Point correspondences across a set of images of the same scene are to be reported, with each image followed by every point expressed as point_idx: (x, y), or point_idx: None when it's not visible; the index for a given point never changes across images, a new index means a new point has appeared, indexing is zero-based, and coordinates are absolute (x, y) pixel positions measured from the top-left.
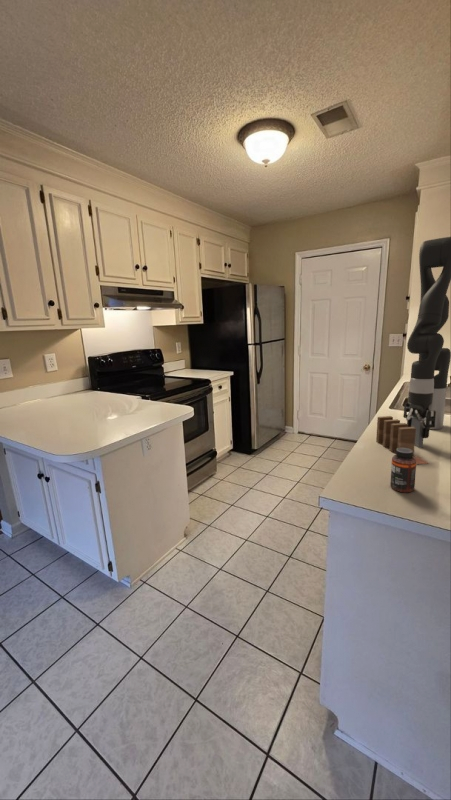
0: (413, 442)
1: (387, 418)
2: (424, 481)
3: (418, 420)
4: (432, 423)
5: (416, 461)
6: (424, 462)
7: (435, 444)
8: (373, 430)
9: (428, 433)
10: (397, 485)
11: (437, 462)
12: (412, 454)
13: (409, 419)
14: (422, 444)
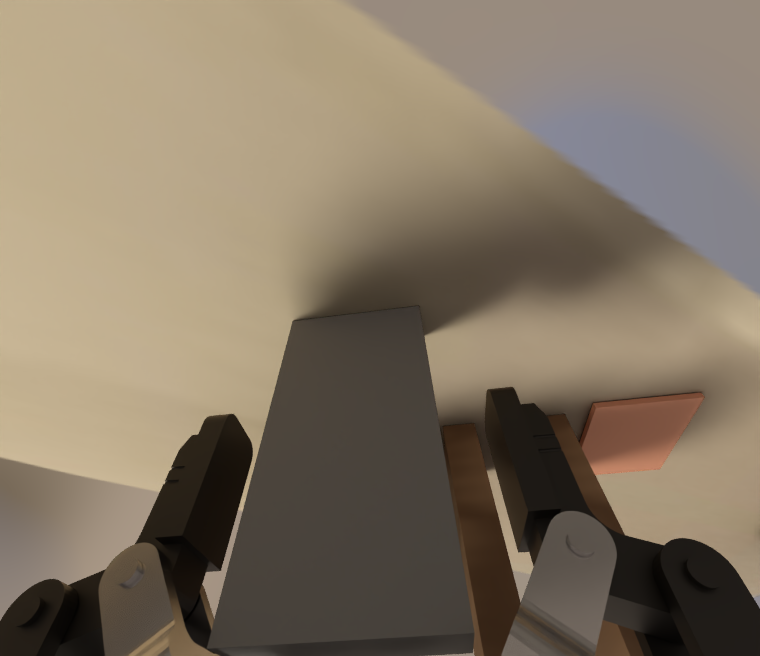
0: (611, 519)
1: None
2: None
3: (414, 651)
4: (721, 643)
5: (653, 435)
6: (690, 410)
7: (340, 139)
8: (42, 458)
9: (557, 448)
10: None
11: (724, 337)
12: None
13: (205, 605)
14: (422, 326)
